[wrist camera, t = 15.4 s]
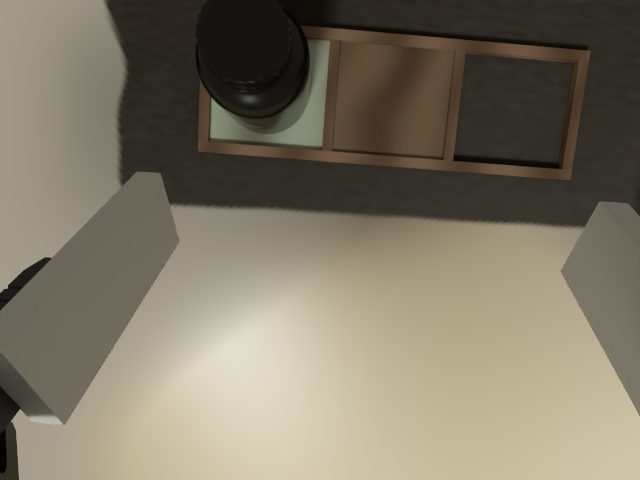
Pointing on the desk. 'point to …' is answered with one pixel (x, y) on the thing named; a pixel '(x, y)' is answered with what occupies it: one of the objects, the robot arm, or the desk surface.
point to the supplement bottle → (254, 62)
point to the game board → (388, 104)
